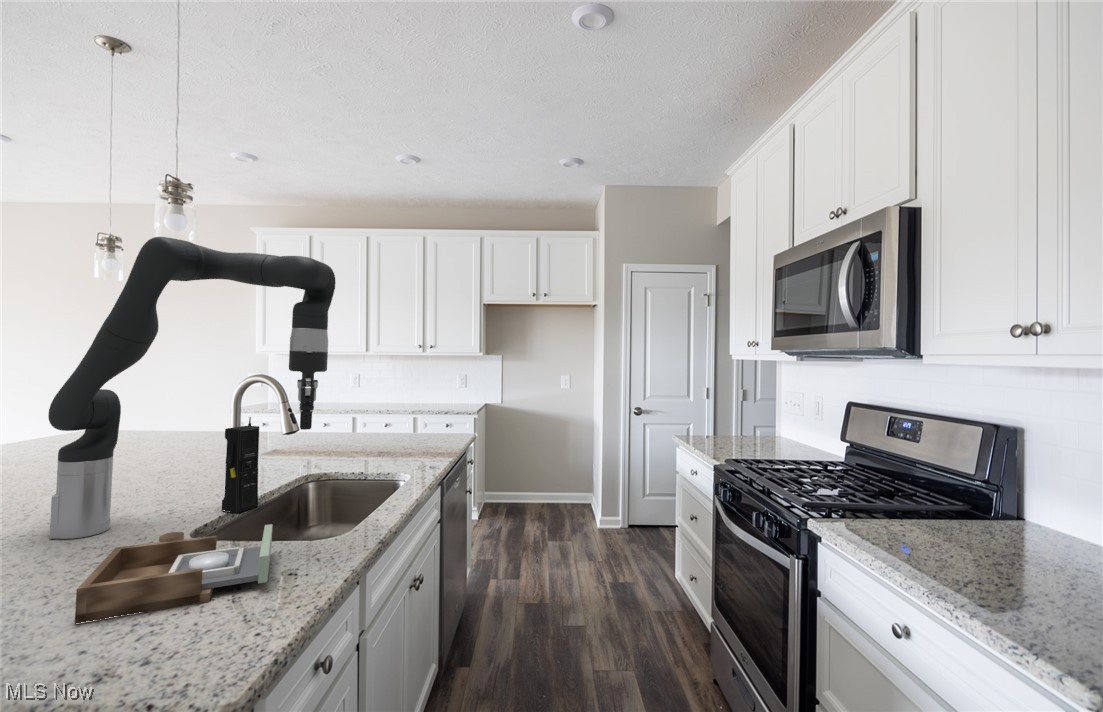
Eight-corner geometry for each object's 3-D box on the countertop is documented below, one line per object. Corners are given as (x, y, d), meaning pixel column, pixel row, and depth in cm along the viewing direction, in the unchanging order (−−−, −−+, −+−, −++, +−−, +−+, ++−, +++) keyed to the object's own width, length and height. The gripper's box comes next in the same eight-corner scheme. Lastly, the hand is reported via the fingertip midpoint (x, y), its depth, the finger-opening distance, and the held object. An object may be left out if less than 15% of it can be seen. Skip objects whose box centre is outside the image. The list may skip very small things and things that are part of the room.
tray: (154, 601, 77) (156, 571, 77) (178, 559, 93) (179, 534, 93) (267, 582, 85) (268, 555, 85) (271, 547, 101) (272, 524, 101)
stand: (155, 565, 94) (156, 540, 94) (160, 557, 97) (161, 533, 97) (180, 561, 96) (181, 537, 96) (184, 554, 99) (185, 530, 99)
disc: (184, 576, 84) (185, 567, 84) (193, 562, 90) (193, 554, 90) (224, 571, 87) (225, 562, 87) (230, 558, 92) (231, 550, 92)
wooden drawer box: (74, 624, 73) (76, 589, 73) (114, 576, 88) (115, 547, 89) (209, 601, 81) (210, 569, 81) (223, 561, 97) (224, 534, 97)
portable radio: (236, 515, 124) (240, 421, 125) (217, 513, 126) (221, 419, 126) (260, 506, 132) (264, 417, 133) (241, 504, 133) (246, 416, 134)
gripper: (289, 349, 107) (286, 425, 107) (289, 348, 96) (285, 434, 95) (326, 350, 111) (322, 424, 111) (329, 350, 99) (326, 432, 99)
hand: (305, 428), depth 103 cm, fingers closed
